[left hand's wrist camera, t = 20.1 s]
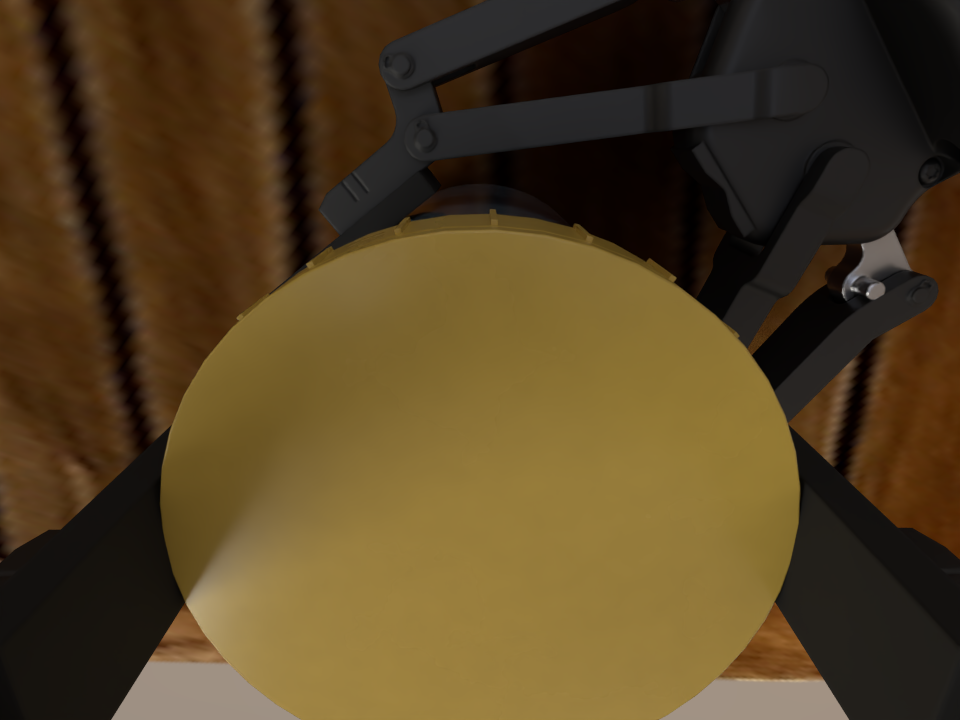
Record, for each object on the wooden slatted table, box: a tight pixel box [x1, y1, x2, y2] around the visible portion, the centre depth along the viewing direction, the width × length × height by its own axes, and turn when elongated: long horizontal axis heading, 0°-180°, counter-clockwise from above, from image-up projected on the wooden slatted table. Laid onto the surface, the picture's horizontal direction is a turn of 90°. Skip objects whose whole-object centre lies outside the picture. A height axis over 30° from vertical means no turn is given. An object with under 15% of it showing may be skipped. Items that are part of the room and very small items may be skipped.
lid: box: [160, 209, 800, 720], centre depth 11 cm, size 11×11×2 cm
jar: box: [395, 184, 571, 227], centre depth 19 cm, size 10×10×16 cm
